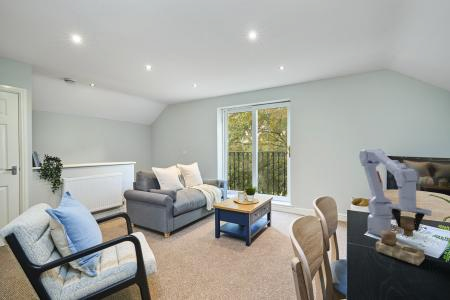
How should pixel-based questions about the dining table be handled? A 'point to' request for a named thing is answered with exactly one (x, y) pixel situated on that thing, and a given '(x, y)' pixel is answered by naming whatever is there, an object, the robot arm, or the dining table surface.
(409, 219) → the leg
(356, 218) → the dining table surface
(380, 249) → the wooden toy block
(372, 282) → the dining table surface
